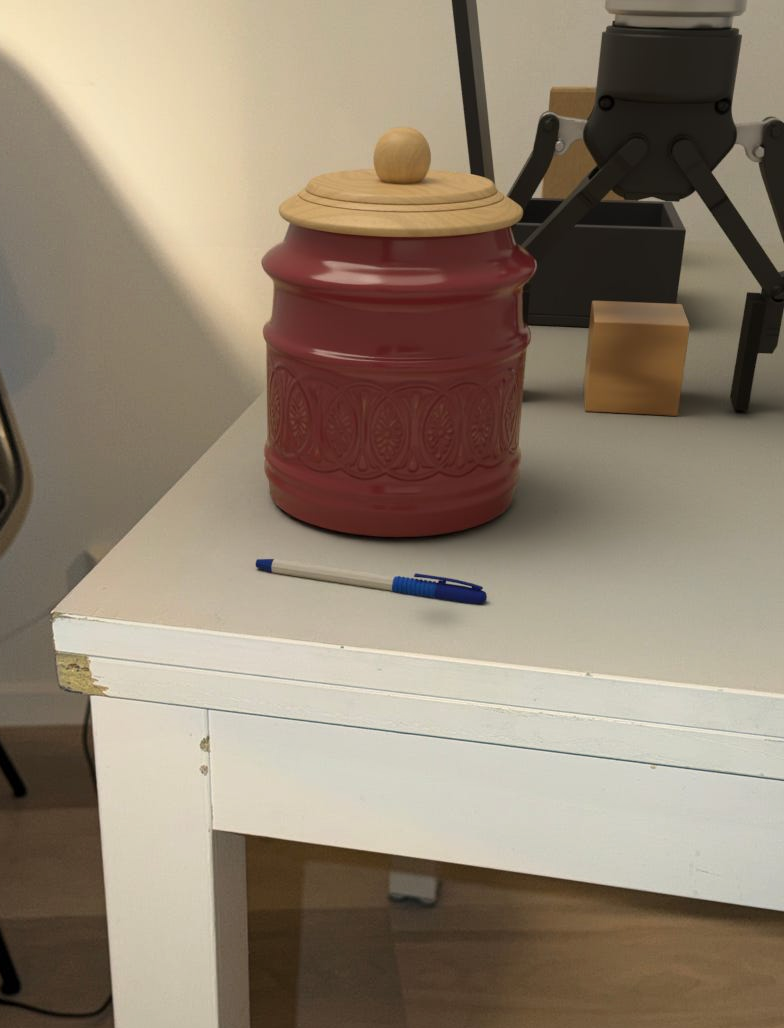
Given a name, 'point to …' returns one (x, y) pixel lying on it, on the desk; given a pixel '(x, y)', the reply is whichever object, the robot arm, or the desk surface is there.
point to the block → (635, 357)
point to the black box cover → (473, 88)
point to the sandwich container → (577, 159)
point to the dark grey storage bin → (604, 259)
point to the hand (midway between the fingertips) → (625, 398)
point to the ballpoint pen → (380, 581)
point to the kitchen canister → (396, 348)
